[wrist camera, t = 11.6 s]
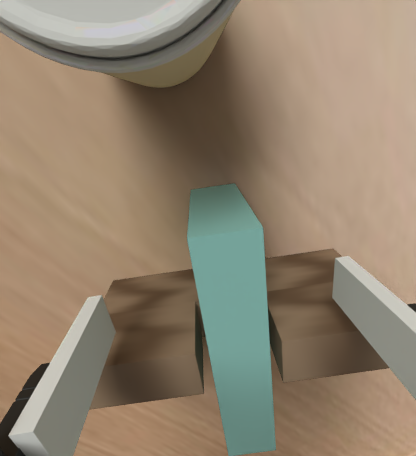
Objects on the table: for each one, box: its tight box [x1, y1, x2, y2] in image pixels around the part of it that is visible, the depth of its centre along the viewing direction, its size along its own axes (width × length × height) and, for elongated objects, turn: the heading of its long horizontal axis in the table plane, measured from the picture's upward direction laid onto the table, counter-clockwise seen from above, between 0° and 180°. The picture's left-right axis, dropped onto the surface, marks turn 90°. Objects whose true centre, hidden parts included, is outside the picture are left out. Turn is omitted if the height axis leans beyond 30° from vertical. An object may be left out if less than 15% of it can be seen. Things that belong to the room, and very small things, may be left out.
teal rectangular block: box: [187, 183, 276, 456], centre depth 19 cm, size 4×18×9 cm, turn 8°
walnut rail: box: [89, 249, 389, 410], centre depth 19 cm, size 20×4×9 cm, turn 98°
